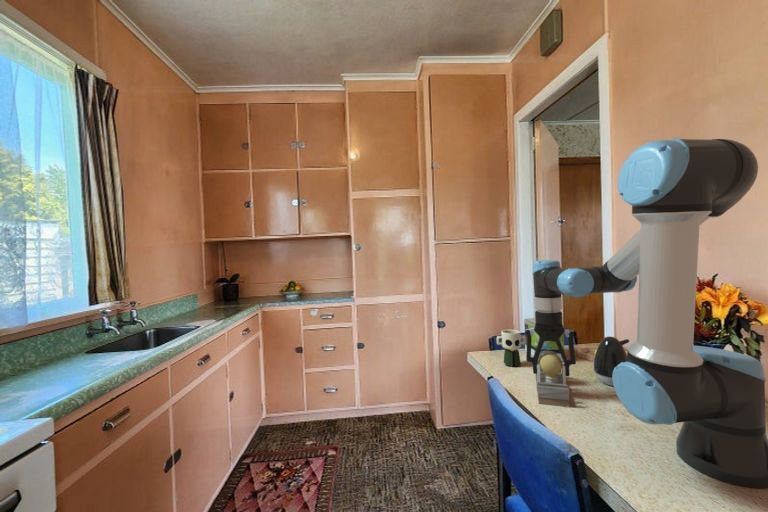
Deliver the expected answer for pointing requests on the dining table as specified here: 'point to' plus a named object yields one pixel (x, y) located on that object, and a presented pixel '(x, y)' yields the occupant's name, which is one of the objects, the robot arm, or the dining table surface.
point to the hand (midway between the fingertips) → (551, 384)
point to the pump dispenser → (609, 358)
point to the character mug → (511, 346)
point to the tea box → (547, 344)
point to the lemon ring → (584, 355)
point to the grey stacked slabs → (552, 389)
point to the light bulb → (550, 367)
